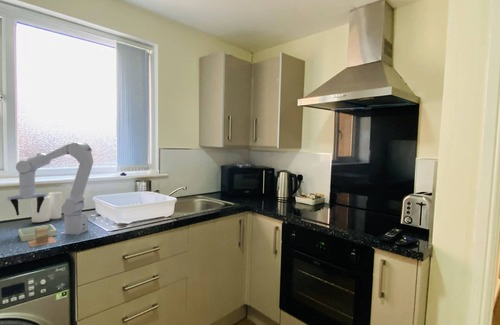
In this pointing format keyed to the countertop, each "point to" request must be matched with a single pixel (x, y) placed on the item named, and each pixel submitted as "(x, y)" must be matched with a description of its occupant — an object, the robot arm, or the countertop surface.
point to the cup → (44, 210)
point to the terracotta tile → (33, 243)
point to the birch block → (41, 234)
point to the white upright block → (55, 204)
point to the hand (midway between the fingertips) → (28, 213)
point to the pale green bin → (29, 233)
